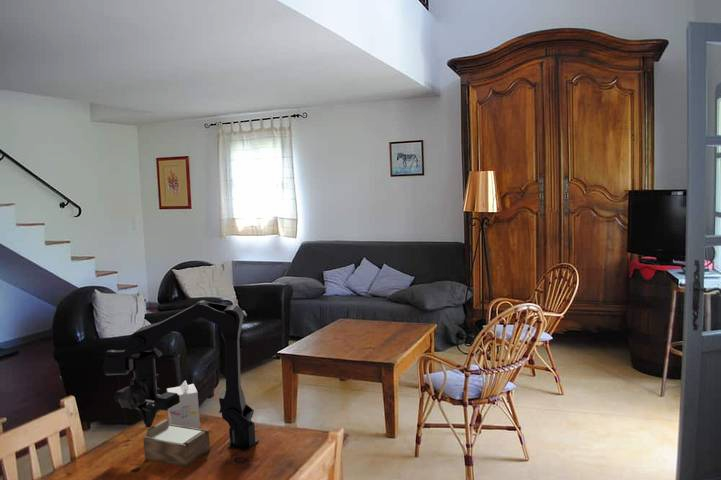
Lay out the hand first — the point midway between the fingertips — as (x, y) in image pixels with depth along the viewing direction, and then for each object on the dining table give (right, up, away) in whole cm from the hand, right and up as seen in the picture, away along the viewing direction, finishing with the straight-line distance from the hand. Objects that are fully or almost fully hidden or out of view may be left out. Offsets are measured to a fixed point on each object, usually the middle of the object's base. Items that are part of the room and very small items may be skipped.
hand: (148, 427), depth 164 cm
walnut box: (+9, -7, -3) cm, 12 cm away
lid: (+8, -2, -3) cm, 9 cm away
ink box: (+5, -5, +16) cm, 18 cm away
